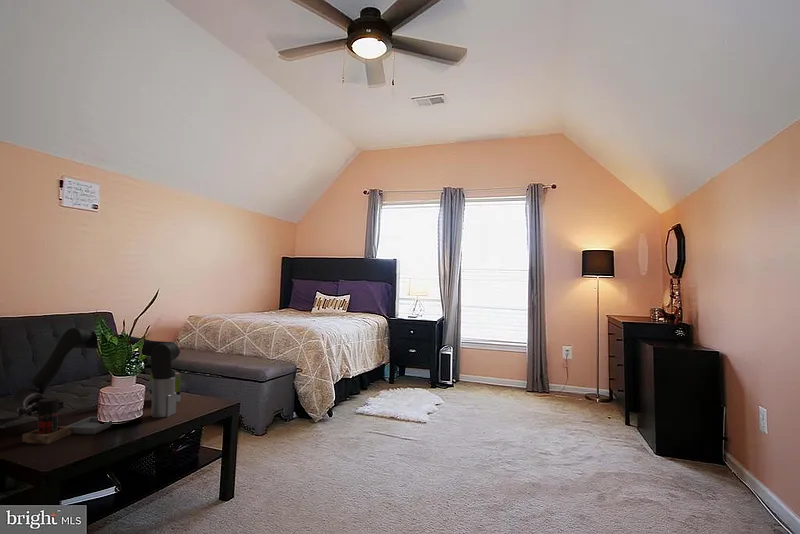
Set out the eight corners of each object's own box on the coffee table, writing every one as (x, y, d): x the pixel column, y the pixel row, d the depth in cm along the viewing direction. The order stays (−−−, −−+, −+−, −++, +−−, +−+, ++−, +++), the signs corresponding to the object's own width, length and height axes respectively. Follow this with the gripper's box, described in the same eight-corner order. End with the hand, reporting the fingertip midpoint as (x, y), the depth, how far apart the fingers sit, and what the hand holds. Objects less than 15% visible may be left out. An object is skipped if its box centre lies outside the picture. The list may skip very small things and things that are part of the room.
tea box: (148, 400, 219) (149, 371, 219) (168, 396, 226) (169, 368, 227) (159, 405, 209) (160, 375, 210) (180, 401, 217) (181, 372, 217)
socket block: (71, 434, 169) (71, 426, 169) (47, 443, 158) (47, 435, 158) (47, 432, 170) (47, 425, 170) (22, 442, 159) (22, 434, 159)
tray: (118, 423, 182) (118, 417, 182) (94, 434, 169) (94, 428, 169) (90, 422, 183) (90, 416, 183) (64, 433, 170) (64, 426, 170)
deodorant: (34, 439, 163) (36, 400, 163) (52, 434, 168) (54, 396, 169) (41, 442, 160) (43, 402, 161) (60, 437, 165) (61, 398, 166)
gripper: (14, 397, 174) (21, 405, 164) (57, 391, 185) (67, 398, 175) (13, 416, 174) (20, 424, 164) (56, 408, 185) (66, 416, 175)
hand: (44, 411), depth 169 cm, fingers open, 8 cm apart
